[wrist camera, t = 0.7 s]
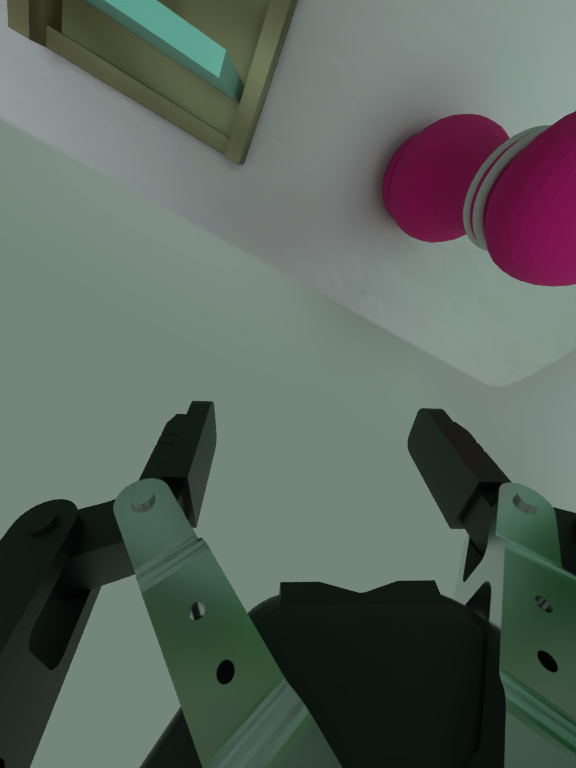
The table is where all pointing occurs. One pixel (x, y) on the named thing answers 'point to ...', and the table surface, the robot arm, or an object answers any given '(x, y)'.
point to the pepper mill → (492, 193)
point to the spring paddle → (176, 41)
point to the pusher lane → (162, 74)
